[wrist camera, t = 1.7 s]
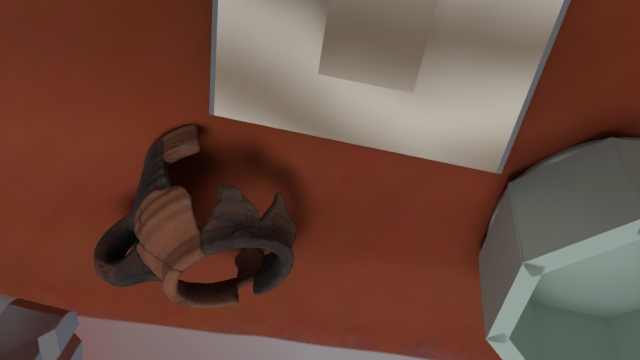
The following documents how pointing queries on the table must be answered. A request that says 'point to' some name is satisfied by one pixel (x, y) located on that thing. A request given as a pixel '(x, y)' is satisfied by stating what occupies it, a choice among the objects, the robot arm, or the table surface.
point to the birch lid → (384, 71)
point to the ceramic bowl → (567, 257)
